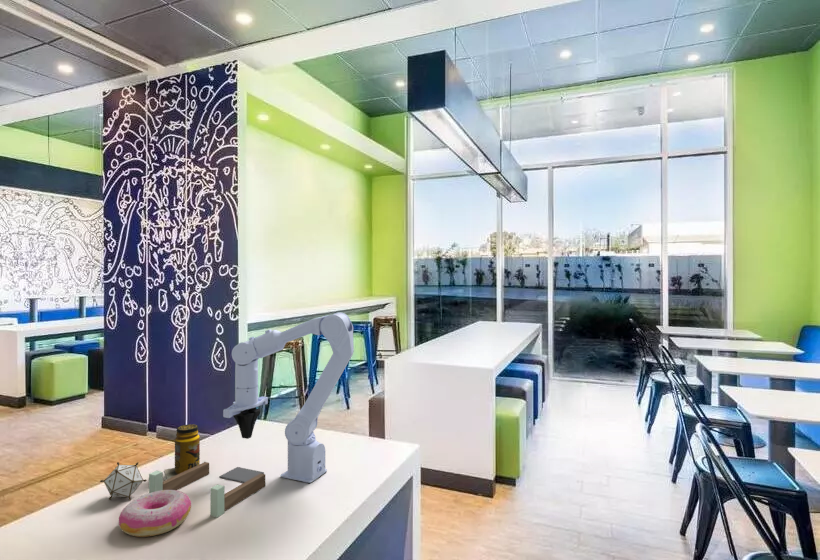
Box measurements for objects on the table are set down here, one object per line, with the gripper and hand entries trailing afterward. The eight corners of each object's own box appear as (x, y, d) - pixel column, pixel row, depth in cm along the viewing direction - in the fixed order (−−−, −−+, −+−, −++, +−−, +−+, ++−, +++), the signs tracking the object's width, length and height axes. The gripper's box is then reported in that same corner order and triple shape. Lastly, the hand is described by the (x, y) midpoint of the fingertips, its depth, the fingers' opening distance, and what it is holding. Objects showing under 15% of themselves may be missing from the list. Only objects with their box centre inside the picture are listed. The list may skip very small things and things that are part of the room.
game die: (122, 516, 107) (104, 495, 101) (105, 495, 111) (87, 473, 105) (158, 487, 112) (143, 465, 106) (140, 468, 116) (125, 445, 110)
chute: (266, 486, 114) (267, 462, 114) (217, 517, 100) (217, 489, 99) (203, 472, 122) (203, 450, 122) (149, 499, 108) (148, 473, 108)
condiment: (203, 473, 122) (203, 428, 122) (167, 480, 118) (167, 434, 118) (198, 463, 128) (198, 421, 128) (164, 470, 124) (164, 426, 124)
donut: (145, 507, 104) (145, 485, 104) (203, 508, 104) (203, 486, 104) (103, 541, 91) (103, 515, 91) (169, 542, 90) (169, 517, 90)
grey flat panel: (263, 473, 122) (263, 472, 122) (246, 483, 116) (246, 482, 116) (237, 467, 126) (237, 466, 126) (219, 477, 120) (219, 476, 120)
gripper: (253, 379, 131) (253, 427, 131) (214, 391, 117) (214, 444, 117) (273, 381, 128) (273, 430, 128) (235, 393, 115) (235, 448, 115)
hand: (246, 437), depth 122 cm, fingers closed
